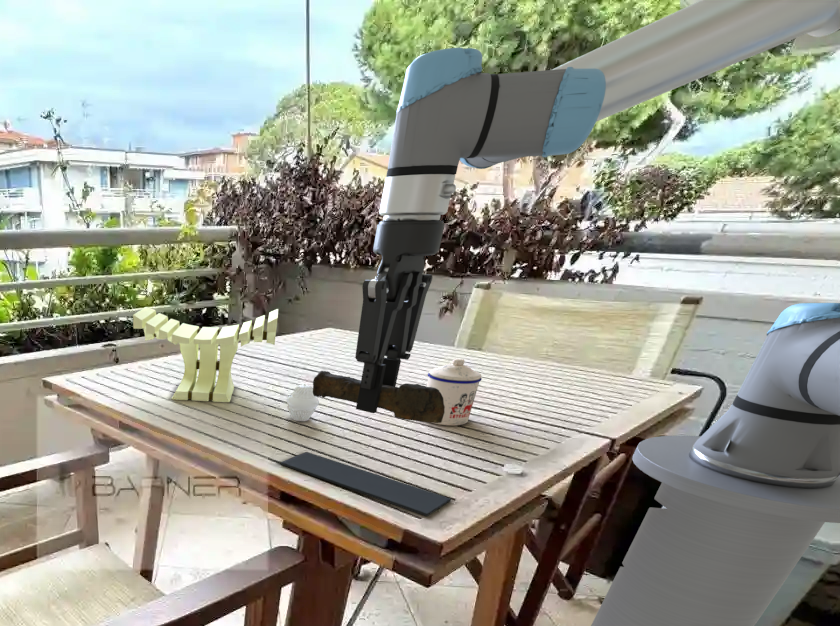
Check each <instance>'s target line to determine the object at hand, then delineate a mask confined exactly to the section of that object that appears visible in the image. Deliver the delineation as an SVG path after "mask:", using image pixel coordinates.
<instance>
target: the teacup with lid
mask: <svg viewBox="0 0 840 626" xmlns="http://www.w3.org/2000/svg"><path fill="white" fill-rule="evenodd" d="M427 376H428V378H427V381H426V382H427V383H426V385H425V386H426V387H433V388H436V389H438V390H439V392H440V393H441V394H442V397H443V401H444V406H445V409H444V412H445V413H444V415H443V419H442V422H441V423H433V424H435V425H440V426H449V427H451V426H453V427H455V426H463V425H465V424H467V423H468V422H469V418H470V416H471V412H472V409H473V405H474V402H475V399H476V395H477V391H478V388H479V384H480V382H481V381H482V379H483V378H482V374H481V373H480V372H479V371H476V370H473V369H472V368H471V367H470V366H468V365H467V364H465V359H463V358H458V357H457V358H453V359H452V361H451V362H450V363H447V364H444V365H442V366H439V367H434V368H432V369H430V371H429V372H428V373H427Z"/></svg>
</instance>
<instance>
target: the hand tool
mask: <svg viewBox="0 0 840 626" xmlns="http://www.w3.org/2000/svg"><path fill="white" fill-rule="evenodd" d="M360 384H361V379H360V380H359V379H358V378H354V377H350V376H346V375H345V376H344V375H337V374H333V373H331V372H330V371H328V370H320V371H318V373H317V375H316V376H314V378H313V381H312V388H313V395H314V396H316V397H317V398H319V397H321V398H327V397H329V398H332V399H336V400H343V401H346V402H351V403H354V404H357V400H358V395H359V389H360ZM426 386H427V385H422V384H418V383H403V384H400V385H399V386H395V387H394V386H389V385H383V384H382V388H381V392H380V397H379V402H378V407H377V409H382V410H385V411H388V412H391V413H393V415H394V417H395V418H396V419H401V420H406V421H413V422H414V421H415V422H421V423H431V424H434V423H441V422H442V419H443V415H444V413H445V412H444V409H445V406H444V401H443V397H442V394H441V393H440V392H439V390H438V389H436V388H433V387H426Z"/></svg>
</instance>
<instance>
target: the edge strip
mask: <svg viewBox="0 0 840 626" xmlns="http://www.w3.org/2000/svg"><path fill="white" fill-rule="evenodd" d="M280 465H281V466H284V467H287V468H290V469H292V470H295V471H297V472H301V473H303V474H307V475H308V476H313V477H315V478H317V479H320V480H323V481H327V482H330V483H332V484H335V485H337V486H340V487H343V488H346V489H349V490H352V491H354V492H357V493H360V494H364V495H366V496H368V497H372V498H374V499H377V500H379V501H383V502H386V503H388V504H391V505H393V506H397V507H399V508H401V509H405V510H408V511H411V512H414V513H417V514H419V515H422V516H425V517H428V516H430V515H431V514H432V513H434V512H436V511H437V510H439V509H440V508H442V507H443V506H445V505H446V504H448V503H449V502H451V500H452V498H450V497H447V496H445V495H441V494H438V493H435V492H432V491H429V490H426V489H423V488H421V487H420V488H419V487H417V486H413V485H411V484H407V483H404V482H401V481H399V480H395V479H392V478H389V477H386V476H383V475H380V474H377V473H373V472H370V471H367V470H364V469H361V468H358V467H355V466H352V465H349V464H345V463H343V462H339V461H337V460H333V459H331V458H327V457H324V456H321V455H317V454H315V453H312V452H309V451H305V452H303V453H300V454H298V455H295V456H293V457H290V458H288V459H286V460H282V461H281V462H280Z"/></svg>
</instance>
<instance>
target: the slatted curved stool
mask: <svg viewBox="0 0 840 626" xmlns="http://www.w3.org/2000/svg"><path fill="white" fill-rule="evenodd" d="M265 318H266V315H265V314H263V315H261V316H258V317H256V318H255V321H254V325H252V323H253V319H250V320H248V321H245V322H244V321H243V324H242V325H241V328H240V324H234V325H227V326H222V328H220V326H217V327H216V326H215V327H214V326H211V327H210V326H202V328H200V326H198V325H193V324H188V323H185V322H183V323H181V324H180V320H177V319H174V318H170V319H169V317H168V315H165V314H164V313H160V312H159V313H157V310H156V309H154V308H151V307H150V306H145V307H143V308H141V309H140V310H138V311H137V312H135V313H134V314H132V324H133V325H132V327H133V330H134V329H135V330H137V329H138V330H141V329H142V330H143V332H144V333H143V334H144V340H145V342H147V341H151V340H154V339H156V340H167V341H168V342H170V343H171V344H174V345H176V346H177V345H179V351H180V354H181V357H182V360H183V365H184V371H183V372H184V373H183V376H182V379H181V380H180V383H179V385H178V386H177V388H176V389H175V392H174V393H173V395H172V397H171V400H174V401H175V400H177V401H178V400H180V401H188V400H191V401H197V402H200V401H201V402H209V401H212V402H213V403H214V402H215V403H230V402H231V399H232V396H233V393H234V389H235V384H234V381H233V377H232V364H233V361H234V359H235V356H236V355H237V351H238V348H239V342H240V347H243V346H244V345H248V344H250V342H251V341H253V343H263V341H266V344H270V345H273V346H275V345H276V335H277V328H278V318H279V308H276V309H274V310H271V311H270V312H269V313H268V318H267V327H266V329H265ZM252 327H253V329H252ZM218 354H219V359H218ZM217 371H218V375H217Z"/></svg>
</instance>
